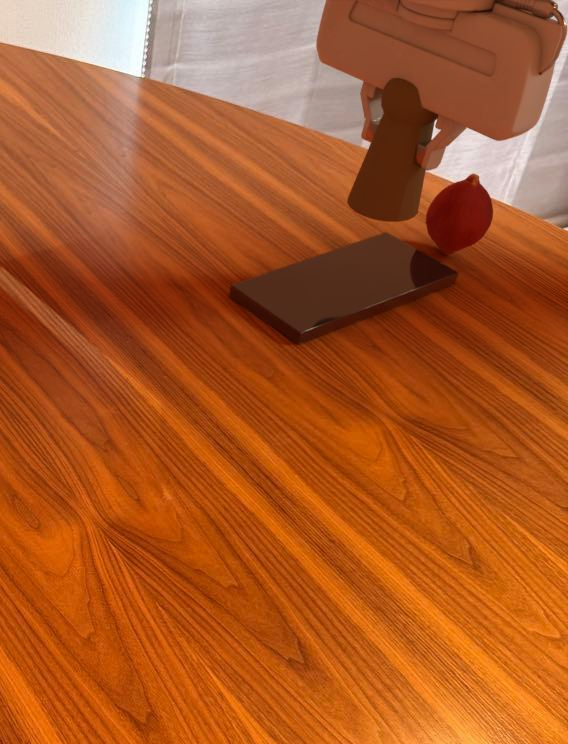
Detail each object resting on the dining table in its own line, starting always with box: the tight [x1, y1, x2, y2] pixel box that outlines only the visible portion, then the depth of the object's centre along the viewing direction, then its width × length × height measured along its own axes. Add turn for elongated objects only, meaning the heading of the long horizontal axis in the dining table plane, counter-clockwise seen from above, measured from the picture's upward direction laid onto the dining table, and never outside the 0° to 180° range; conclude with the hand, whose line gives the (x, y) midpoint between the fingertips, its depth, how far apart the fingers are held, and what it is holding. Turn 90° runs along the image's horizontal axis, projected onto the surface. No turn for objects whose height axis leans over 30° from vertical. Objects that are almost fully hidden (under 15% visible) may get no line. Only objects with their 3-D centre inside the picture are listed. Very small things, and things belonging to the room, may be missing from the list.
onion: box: [425, 173, 494, 255], centre depth 92 cm, size 6×6×8 cm
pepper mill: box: [346, 78, 438, 223], centre depth 81 cm, size 6×6×11 cm
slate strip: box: [228, 231, 460, 345], centre depth 89 cm, size 20×9×1 cm, turn 122°
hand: (398, 153), depth 81 cm, fingers closed on pepper mill, 4 cm apart
